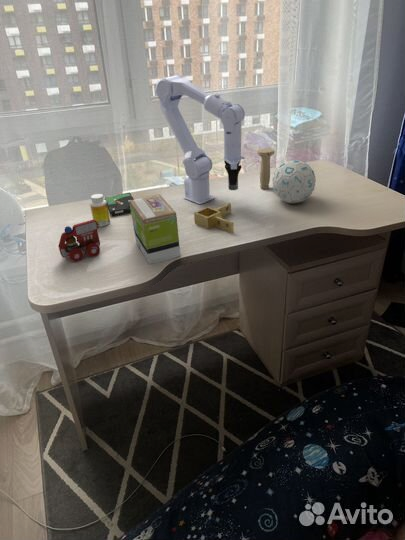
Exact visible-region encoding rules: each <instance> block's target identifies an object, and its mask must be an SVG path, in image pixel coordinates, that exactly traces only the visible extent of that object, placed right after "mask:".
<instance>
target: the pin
mask: <svg viewBox="0 0 405 540" xmlns="http://www.w3.org/2000/svg"><path fill="white" fill-rule="evenodd" d="M227 177H228V176H227ZM227 180H228V183H227V184H228V190H229V191H236V190H239V178H238V179H237V183H236V185H230V182H229V177H228V178H227Z"/></svg>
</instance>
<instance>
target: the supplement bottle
mask: <svg viewBox="0 0 405 540" xmlns="http://www.w3.org/2000/svg"><path fill="white" fill-rule="evenodd" d="M90 199H91V201H90V202H89V207H90V211H91V216H92V217H91V218H92V220H96V221H97V223H98V228H99V227H105V226H108V225H109V224H110V223H111V218H110V215H109V214H110V212H109V210H108V207H107V202H106V200H104V199H105V197H104V195H103V194H102V193H95V194H92V195H91V196H90Z"/></svg>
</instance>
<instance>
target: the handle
mask: <svg viewBox="0 0 405 540" xmlns="http://www.w3.org/2000/svg"><path fill="white" fill-rule="evenodd" d="M274 154H275V149H274V148H268V147H267V148H260V149H257V155H258V156H259V157H260V158H261V159H260V168H259V169H260V171H259V184H260V185H259V187H260V189H262V190H267V189H269V187H270V185H269V184H270V182H271V181H270V179H271V156H274Z"/></svg>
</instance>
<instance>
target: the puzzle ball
mask: <svg viewBox="0 0 405 540" xmlns="http://www.w3.org/2000/svg"><path fill="white" fill-rule="evenodd" d="M316 182H317V181H316V174H315V171H314V169H313V168H312V167H311V166H310V165H309V164H307V163H306V162H304V161H301V160H295V159H293V160H288V161H286V162H284V163H282V164H281V165H280V166H279V167H277V169H276V171H275V172H274V174H273V177H272V188H273V191H274V195H276V196H277V197H278V198H279V199H281V200H282V201H283V202H285V203H287V204H299V203H301V202H305V200H307V199H308V198H309V197H311V195H312V194H313V192H314V190H315V186H316Z"/></svg>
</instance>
